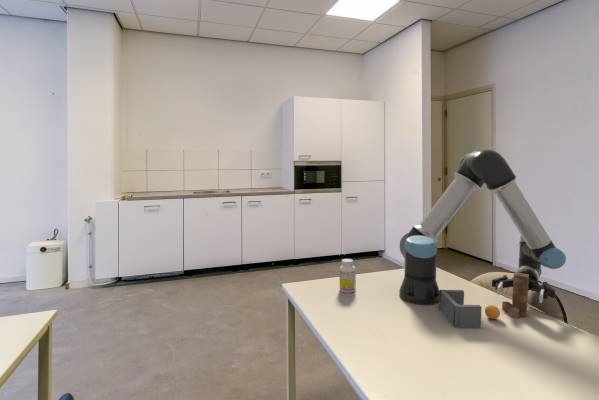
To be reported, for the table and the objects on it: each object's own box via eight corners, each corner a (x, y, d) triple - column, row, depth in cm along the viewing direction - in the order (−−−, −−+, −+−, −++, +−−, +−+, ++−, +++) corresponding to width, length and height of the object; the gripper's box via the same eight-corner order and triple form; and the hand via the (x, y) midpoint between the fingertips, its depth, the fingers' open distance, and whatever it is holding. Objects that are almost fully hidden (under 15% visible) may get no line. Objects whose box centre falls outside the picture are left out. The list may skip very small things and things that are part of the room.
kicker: (499, 315, 119) (501, 275, 118) (502, 308, 125) (504, 270, 123) (524, 320, 114) (526, 279, 113) (526, 313, 120) (528, 274, 119)
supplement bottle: (344, 286, 149) (344, 257, 148) (358, 289, 145) (358, 259, 144) (336, 291, 143) (336, 260, 142) (350, 294, 140) (351, 263, 138)
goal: (438, 308, 125) (439, 289, 124) (461, 308, 124) (462, 290, 124) (454, 327, 110) (455, 306, 109) (480, 328, 109) (481, 306, 109)
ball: (482, 315, 119) (482, 302, 118) (495, 315, 119) (496, 303, 118) (488, 321, 114) (488, 308, 114) (502, 321, 114) (503, 308, 114)
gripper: (564, 294, 126) (562, 314, 109) (491, 281, 141) (479, 297, 124) (566, 274, 125) (564, 291, 108) (492, 263, 140) (480, 277, 123)
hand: (518, 294), depth 116 cm, fingers open, 11 cm apart
